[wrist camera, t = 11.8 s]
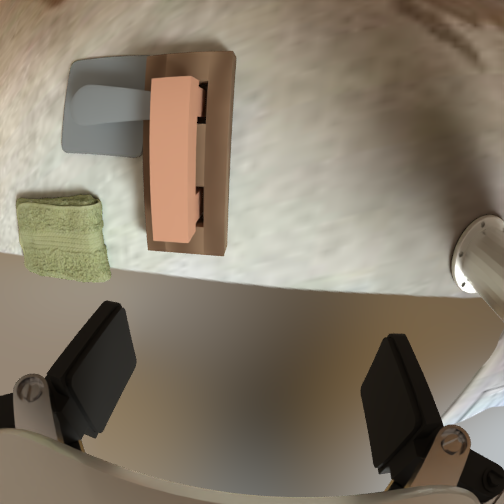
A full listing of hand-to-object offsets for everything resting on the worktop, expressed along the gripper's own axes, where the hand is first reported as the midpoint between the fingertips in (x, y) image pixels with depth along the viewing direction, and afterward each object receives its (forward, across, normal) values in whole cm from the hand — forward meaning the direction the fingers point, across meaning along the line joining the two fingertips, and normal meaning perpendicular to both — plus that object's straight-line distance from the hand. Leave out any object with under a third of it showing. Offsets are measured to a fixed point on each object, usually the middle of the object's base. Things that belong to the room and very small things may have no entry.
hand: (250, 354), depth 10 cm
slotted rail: (+24, +9, -4) cm, 27 cm away
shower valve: (+25, +19, -10) cm, 33 cm away
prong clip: (+24, +9, -4) cm, 26 cm away
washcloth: (+24, +30, +8) cm, 39 cm away
